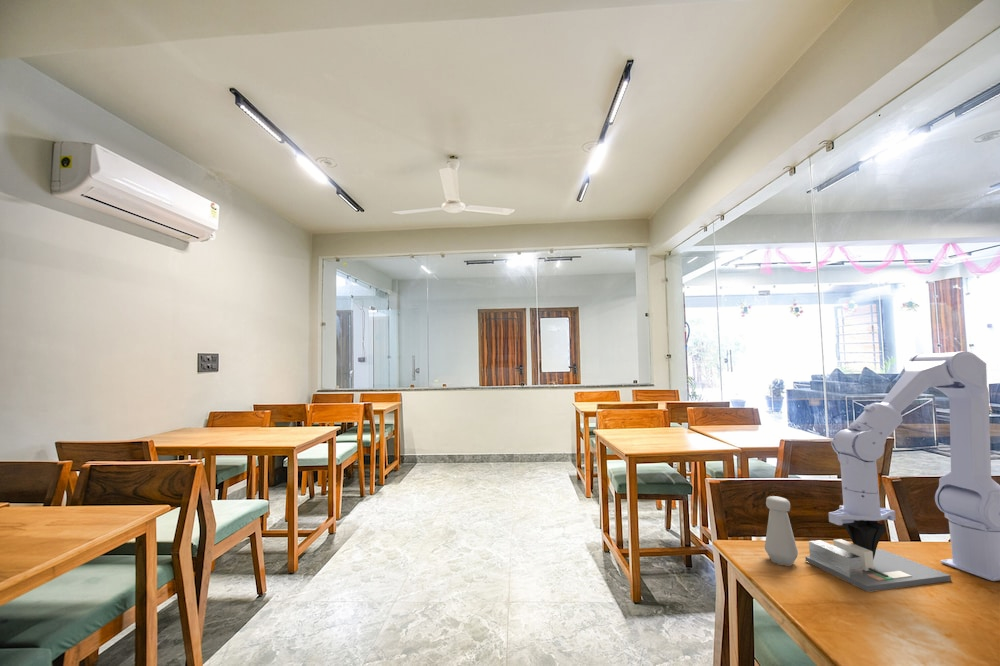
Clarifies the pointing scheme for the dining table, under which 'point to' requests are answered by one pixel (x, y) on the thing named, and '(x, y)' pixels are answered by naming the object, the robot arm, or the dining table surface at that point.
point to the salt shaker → (780, 532)
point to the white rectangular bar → (859, 554)
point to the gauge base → (891, 573)
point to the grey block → (836, 558)
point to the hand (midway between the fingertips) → (865, 558)
